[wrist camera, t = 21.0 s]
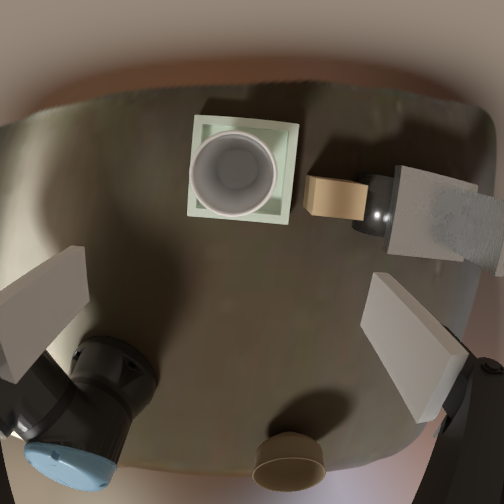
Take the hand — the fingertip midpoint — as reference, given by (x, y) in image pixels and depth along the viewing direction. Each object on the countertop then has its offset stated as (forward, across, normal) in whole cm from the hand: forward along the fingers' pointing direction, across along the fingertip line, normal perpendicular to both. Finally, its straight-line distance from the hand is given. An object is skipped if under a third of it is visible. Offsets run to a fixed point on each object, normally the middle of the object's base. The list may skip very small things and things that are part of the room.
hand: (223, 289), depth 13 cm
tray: (+27, 0, +4) cm, 27 cm away
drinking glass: (+26, 0, +4) cm, 27 cm away
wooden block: (+27, +11, +2) cm, 29 cm away
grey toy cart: (+27, +23, +2) cm, 35 cm away
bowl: (+27, +12, -43) cm, 52 cm away
